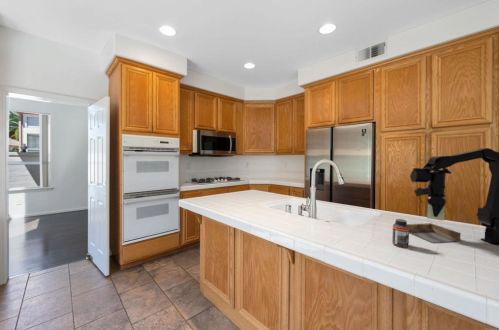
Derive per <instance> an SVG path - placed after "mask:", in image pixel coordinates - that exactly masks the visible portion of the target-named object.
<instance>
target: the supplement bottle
mask: <svg viewBox="0 0 499 330" xmlns="http://www.w3.org/2000/svg"><path fill="white" fill-rule="evenodd" d="M406 224H408V222H407V220H406V219H401V218H396V219H395V222H394V224H393V225H392V244H393V246H395V247H398V248H408V247H409V244H410V233H409V227H408V226H407V225H406Z"/></svg>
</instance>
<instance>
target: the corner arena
mask: <svg viewBox="0 0 499 330" xmlns="http://www.w3.org/2000/svg"><path fill="white" fill-rule="evenodd" d="M406 225H407V226H408V227H409V235H412V236H414V237H417V238H419V239H422V240H424V241H427V242H429V243H431V244H440V243H460V242H461V236H462V235H461V232H458V231H455V230H453V229H449V228H447V227H444V226H440V225H437V224H434V223H432V222H429V223H427V222H426V223H407V224H406Z"/></svg>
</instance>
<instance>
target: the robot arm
mask: <svg viewBox="0 0 499 330" xmlns="http://www.w3.org/2000/svg"><path fill="white" fill-rule="evenodd" d="M477 159H478V160H479V159H481V160H482V161H483V162H485V163H487V164H488V169H489V171H490V174H491V178H490V182H489V186H488V187H489V188H488V192H487V196H486V202H485V205H483V206H482V207H478V208H477V212H476V216H477V220H478V221H479V222H480V225H481V226H482V227H485V228H484V237H482V238H480V240H481V241H484V242H486V243H490V244H493V245H497V246H499V152H498V151H497V150H496V151H495V150H493V149H491V148H489V147H483V148H482V147H480V148H477V149H474V150H470V151H465V152H464V151H463V152H460V153H456V154H452V155H450V154H449V155H436V156H435V155H433V156H431V157H429V158H428V160H427V163H426V164H425V165H424V166H423V167H422V168H421V167H420V168H417V167H413V169H412V171H411V172H410V176H409V178H410V181H411V182H412V183H428V185H427V186H426V187H417V188H416V189H414V190H413V191H414V193H415V197H421V196H425V195H426V196H427V200H426V202H427V203H428V204H430V205H432V209H433V214H434V217H437V216H438V214H439V213H440V211H441V210H442V208H443V207H445V205H446V203H447V201H446V195H445V193H446V176H447V175H446V174H452V171H450V170H449V169H448V168H450V167H452V166H454V165H455V164H458V163H462V162H463V163H464V162H468V161H472V160H477Z"/></svg>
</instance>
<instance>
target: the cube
mask: <svg viewBox="0 0 499 330" xmlns="http://www.w3.org/2000/svg"><path fill="white" fill-rule="evenodd" d="M445 209H446V207H445V206H444V207H443V208H442V210H441V211H440V213H439V214H438V216H437V217H434V214H433V209H432V205H430V204H429V203H428V204H427V212H426V214H427V215H426V219H430V220H437V221H442V222H444V221H445Z"/></svg>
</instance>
